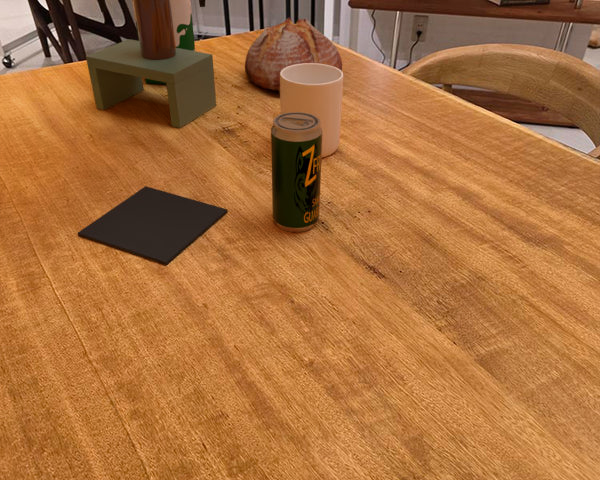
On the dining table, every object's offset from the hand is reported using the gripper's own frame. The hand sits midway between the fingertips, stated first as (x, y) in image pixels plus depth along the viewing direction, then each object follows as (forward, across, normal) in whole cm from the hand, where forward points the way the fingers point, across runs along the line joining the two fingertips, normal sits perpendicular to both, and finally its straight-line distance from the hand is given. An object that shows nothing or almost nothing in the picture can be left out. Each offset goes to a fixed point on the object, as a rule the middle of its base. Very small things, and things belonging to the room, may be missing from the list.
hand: (152, 0), depth 83 cm
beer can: (-14, +12, -37) cm, 42 cm away
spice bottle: (+7, 0, -4) cm, 8 cm away
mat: (-12, -4, -35) cm, 37 cm away
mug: (0, +19, -23) cm, 30 cm away
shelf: (+12, -2, -10) cm, 16 cm away
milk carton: (+22, +2, -1) cm, 22 cm away
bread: (+18, +23, -4) cm, 29 cm away
